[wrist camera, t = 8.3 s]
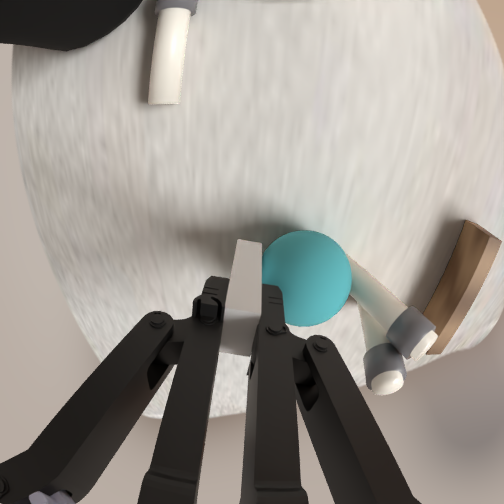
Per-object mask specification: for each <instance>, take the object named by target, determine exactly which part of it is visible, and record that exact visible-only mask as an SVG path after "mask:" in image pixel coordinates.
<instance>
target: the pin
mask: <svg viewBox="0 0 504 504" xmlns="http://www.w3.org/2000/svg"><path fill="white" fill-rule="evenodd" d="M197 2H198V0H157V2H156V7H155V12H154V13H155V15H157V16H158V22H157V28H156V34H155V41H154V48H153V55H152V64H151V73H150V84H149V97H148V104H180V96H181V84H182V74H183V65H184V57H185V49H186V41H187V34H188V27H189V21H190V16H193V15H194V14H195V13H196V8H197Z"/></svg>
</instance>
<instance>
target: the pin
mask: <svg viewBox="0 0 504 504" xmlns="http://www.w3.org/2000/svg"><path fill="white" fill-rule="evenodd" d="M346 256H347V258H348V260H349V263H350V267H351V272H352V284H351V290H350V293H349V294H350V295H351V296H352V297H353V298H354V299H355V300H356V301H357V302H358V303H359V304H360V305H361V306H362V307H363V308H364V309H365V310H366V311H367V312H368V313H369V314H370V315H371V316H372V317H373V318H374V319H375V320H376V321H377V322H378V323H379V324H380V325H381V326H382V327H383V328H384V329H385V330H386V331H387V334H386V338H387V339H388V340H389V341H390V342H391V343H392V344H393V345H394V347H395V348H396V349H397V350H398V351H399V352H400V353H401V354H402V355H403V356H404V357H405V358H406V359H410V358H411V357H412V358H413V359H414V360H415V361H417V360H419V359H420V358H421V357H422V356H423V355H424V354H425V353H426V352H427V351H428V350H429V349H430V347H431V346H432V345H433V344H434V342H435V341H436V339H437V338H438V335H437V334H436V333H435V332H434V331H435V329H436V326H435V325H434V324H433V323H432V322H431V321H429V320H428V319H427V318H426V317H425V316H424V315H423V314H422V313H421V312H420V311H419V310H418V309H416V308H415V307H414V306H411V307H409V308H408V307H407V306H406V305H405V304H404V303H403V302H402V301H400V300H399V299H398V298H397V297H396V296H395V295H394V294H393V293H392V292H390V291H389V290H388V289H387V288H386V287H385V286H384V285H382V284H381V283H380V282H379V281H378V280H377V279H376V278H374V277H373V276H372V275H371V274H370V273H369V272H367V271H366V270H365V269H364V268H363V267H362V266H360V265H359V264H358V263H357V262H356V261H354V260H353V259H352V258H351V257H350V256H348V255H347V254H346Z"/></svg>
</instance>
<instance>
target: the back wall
mask: <svg viewBox="0 0 504 504" xmlns="http://www.w3.org/2000/svg"><path fill="white" fill-rule="evenodd" d="M501 243H502V241H501V240H499V239H498V238H496V237H495V236H494V235H492V234H491V233H490V232H488V231H487V230H485V229H484V228H482V227H481V226H479V225H478V224H475V223H473V222H470V221H468V220H466V221H465V223H464V226H463V229H462V232H461V234H460V237H459V239H458V242H457V244H456V247H455V249H454V252H453V254H452V256H451V259H450V261H449V263H448V265H447V268H446V270H445V272H444V274H443V276H442V278H441V280H440V282H439V284H438V286H437V288H436V290H435V292H434V294H433V296H432V298H431V300H430V302H429V304H428V306H427V307H426V309H425V311H424V313H423V315H424V316H425V317H426V318H427V319H428V320H429V321H431V322H432V323H433V324H434V325H435V326H436V329H435V331H434V332H435V333H436V334H437V335H438V338H437V339H436V341H435V342H434V344H433V345H432V346H431V347H430V349H429V350H428V351H427V352H426V355H431V354H441V352H442V351H443V350H444V348H445V347H446V345H447V344H448V342H449V341H450V340H451V338H452V337H453V335H454V333H455V332H456V330H457V329H458V327H459V326H460V324H461V322H462V321H463V319H464V318H465V316H466V314H467V312H468V311H469V309H470V307H471V306H472V304H473V302H474V300H475V298H476V296H477V295H478V293H479V291H480V289H481V287H482V285H483V283H484V281H485V279H486V277H487V275H488V273H489V271H490V268H491V266H492V264H493V262H494V260H495V257H496V255H497V253H498V250H499V248H500V245H501Z"/></svg>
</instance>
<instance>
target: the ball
mask: <svg viewBox="0 0 504 504" xmlns="http://www.w3.org/2000/svg"><path fill="white" fill-rule="evenodd" d="M262 284H269V285H275V286H278V287H279V288H280V289H281V291H282V293H283V305H284V315H285V323H287V324H290V325H294V326H313V325H318V324H320V323H323V322H325V321H327V320H329V319H330V318H332V317H333V316H334V315H335V314H337V313H338V312H339V311H340V309H341V308H342V307H343V305H344V304H345V302H346V300H347V298H348V296H349V293H350V290H351V284H352V272H351V267H350V263H349V260H348V258H347V256H346V254H345V252H344V251H343V250H342V248H341V247H340V246H339V245H338V244H337V243H336V242H335V241H334V240H333V239H331V238H329V237H328V236H326V235H324V234H321V233H319V232H315V231H308V230H302V231H294V232H290V233H288V234H285V235H283V236H281V237H279V238H278V239H276V240H275V241H274V242H273V243H272V244H271V245H270V246H269V247H268V248H267V249H266V250H265V252H264V253H263V255H262Z"/></svg>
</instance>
